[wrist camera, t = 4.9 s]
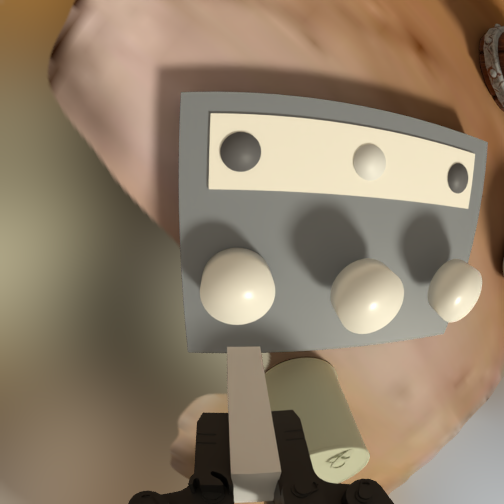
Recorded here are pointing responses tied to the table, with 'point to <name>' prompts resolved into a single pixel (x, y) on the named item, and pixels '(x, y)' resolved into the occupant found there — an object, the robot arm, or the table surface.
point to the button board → (320, 210)
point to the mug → (493, 62)
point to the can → (319, 416)
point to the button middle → (366, 296)
